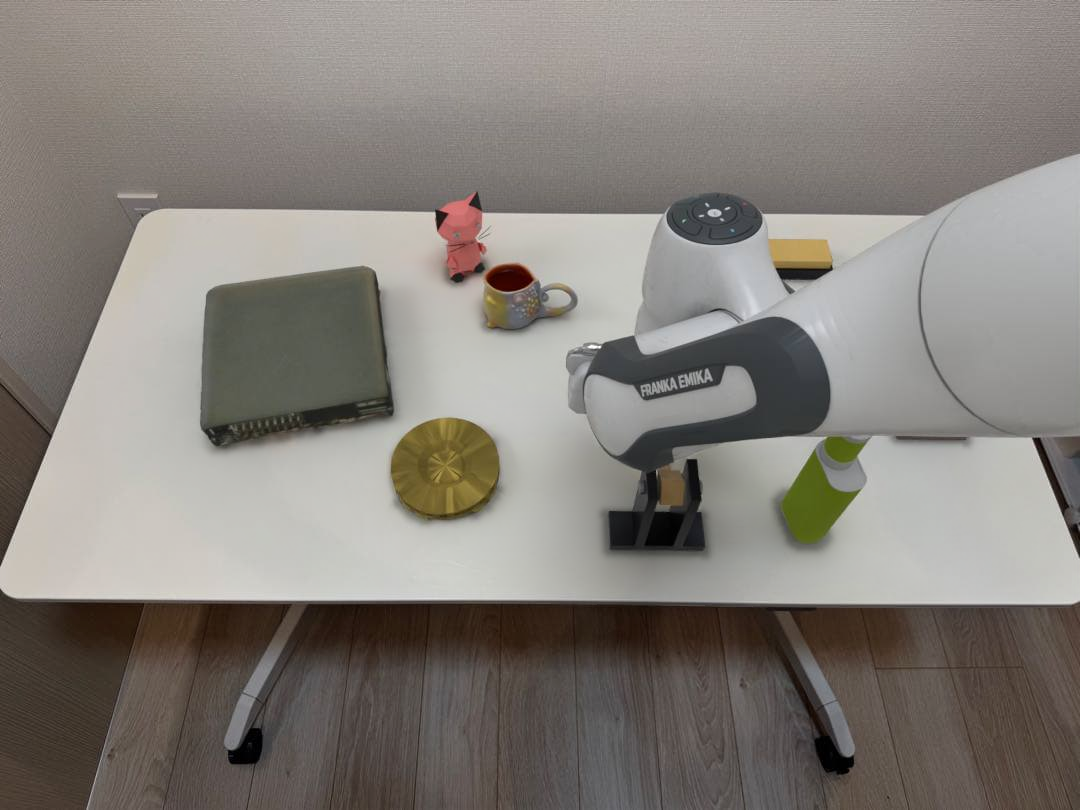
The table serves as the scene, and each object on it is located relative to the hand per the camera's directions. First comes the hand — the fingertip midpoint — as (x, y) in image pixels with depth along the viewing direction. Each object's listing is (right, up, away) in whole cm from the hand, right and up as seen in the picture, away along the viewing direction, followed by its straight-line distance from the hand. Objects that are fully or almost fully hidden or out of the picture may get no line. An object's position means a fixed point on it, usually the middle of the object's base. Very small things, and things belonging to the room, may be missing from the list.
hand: (661, 425), depth 81 cm
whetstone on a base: (+19, +21, +23) cm, 36 cm away
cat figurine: (-23, +21, +22) cm, 38 cm away
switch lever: (0, -5, -3) cm, 6 cm away
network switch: (-42, +7, +14) cm, 45 cm away
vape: (+16, -10, +3) cm, 19 cm away
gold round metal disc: (-23, -6, +6) cm, 25 cm away
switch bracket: (0, -12, +2) cm, 12 cm away
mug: (-14, +14, +18) cm, 27 cm away
